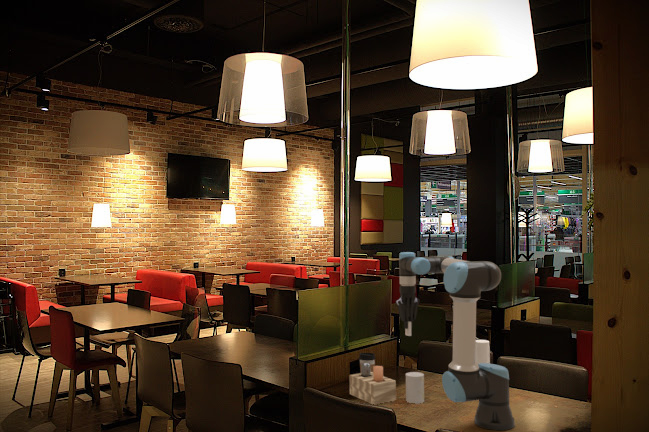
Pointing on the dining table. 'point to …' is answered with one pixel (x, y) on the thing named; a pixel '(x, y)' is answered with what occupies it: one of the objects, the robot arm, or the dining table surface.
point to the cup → (415, 387)
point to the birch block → (372, 389)
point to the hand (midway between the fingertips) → (408, 335)
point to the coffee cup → (367, 359)
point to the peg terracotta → (378, 373)
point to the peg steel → (365, 369)
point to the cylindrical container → (482, 352)
